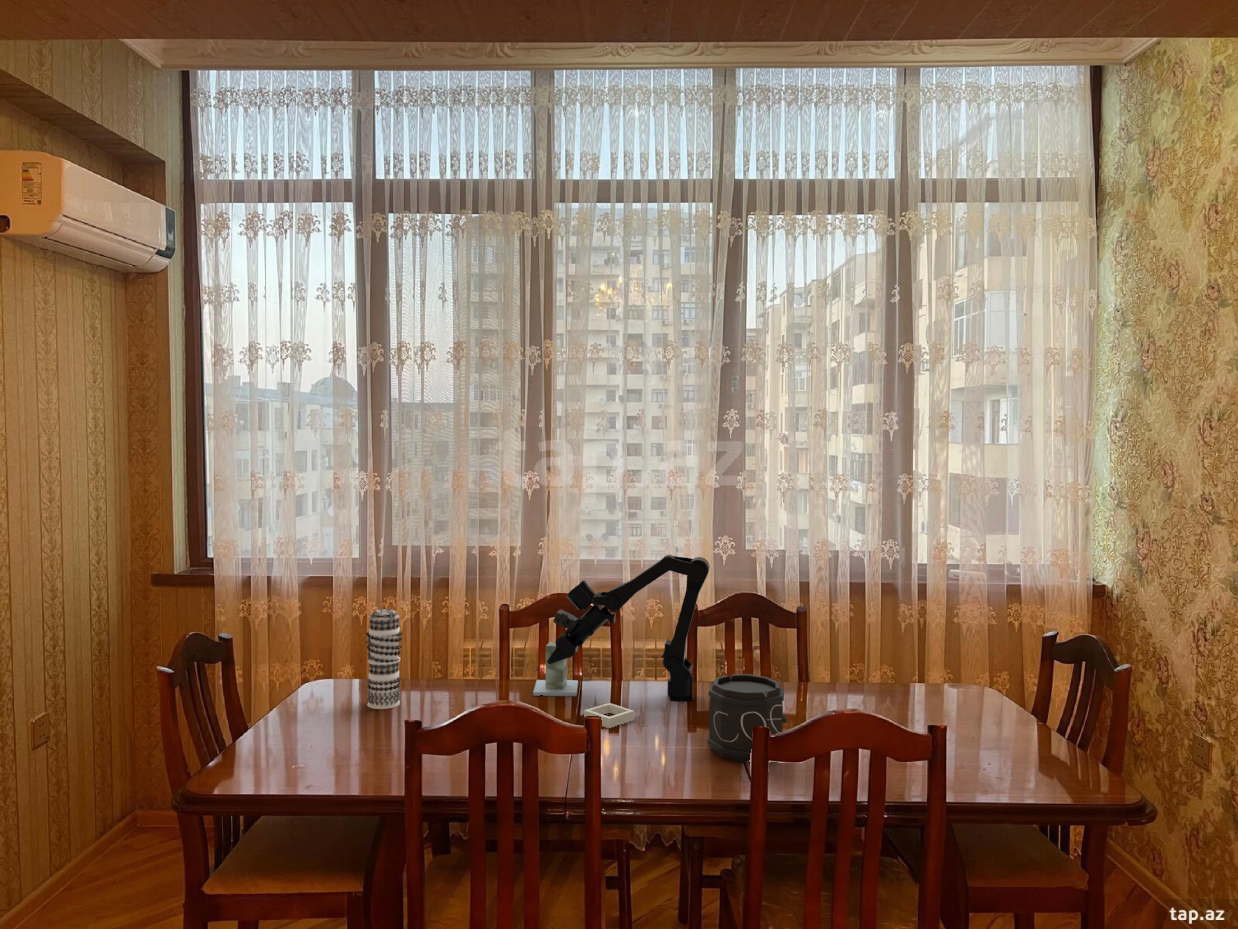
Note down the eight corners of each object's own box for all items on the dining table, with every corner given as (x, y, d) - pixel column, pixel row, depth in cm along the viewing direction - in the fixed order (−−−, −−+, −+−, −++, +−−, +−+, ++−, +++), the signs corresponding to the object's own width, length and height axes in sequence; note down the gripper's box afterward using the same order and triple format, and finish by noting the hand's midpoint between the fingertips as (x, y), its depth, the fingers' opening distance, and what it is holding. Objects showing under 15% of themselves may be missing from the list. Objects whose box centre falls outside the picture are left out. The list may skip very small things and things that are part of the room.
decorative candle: (396, 710, 226) (397, 614, 226) (361, 709, 227) (361, 614, 226) (405, 699, 236) (406, 607, 235) (371, 698, 236) (372, 607, 235)
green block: (566, 684, 249) (567, 642, 248) (562, 689, 244) (563, 646, 244) (549, 683, 250) (550, 641, 249) (545, 688, 245) (546, 645, 244)
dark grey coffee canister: (785, 768, 191) (787, 697, 190) (704, 760, 195) (705, 691, 194) (786, 740, 209) (788, 675, 208) (712, 734, 212) (713, 670, 212)
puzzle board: (609, 712, 227) (609, 702, 227) (634, 720, 221) (634, 710, 221) (584, 720, 221) (584, 710, 221) (609, 728, 215) (609, 718, 215)
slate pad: (577, 683, 253) (577, 680, 253) (576, 696, 241) (576, 692, 241) (536, 683, 253) (536, 680, 253) (533, 695, 241) (533, 692, 241)
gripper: (577, 595, 255) (540, 630, 257) (563, 607, 236) (523, 645, 238) (603, 623, 254) (566, 658, 256) (591, 637, 235) (551, 675, 237)
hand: (551, 658), depth 247 cm, fingers open, 9 cm apart
